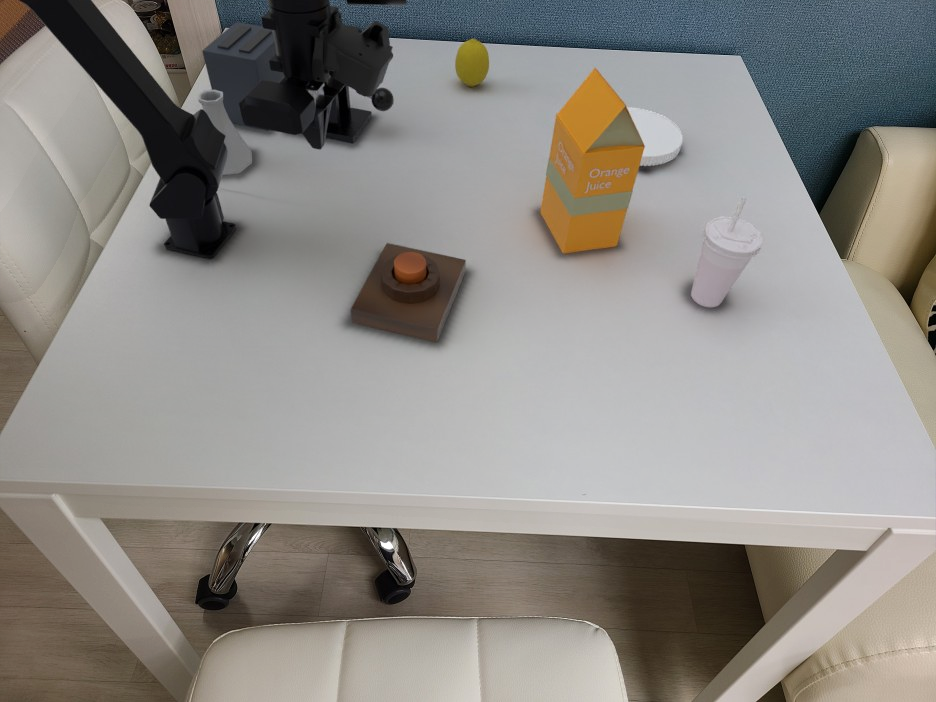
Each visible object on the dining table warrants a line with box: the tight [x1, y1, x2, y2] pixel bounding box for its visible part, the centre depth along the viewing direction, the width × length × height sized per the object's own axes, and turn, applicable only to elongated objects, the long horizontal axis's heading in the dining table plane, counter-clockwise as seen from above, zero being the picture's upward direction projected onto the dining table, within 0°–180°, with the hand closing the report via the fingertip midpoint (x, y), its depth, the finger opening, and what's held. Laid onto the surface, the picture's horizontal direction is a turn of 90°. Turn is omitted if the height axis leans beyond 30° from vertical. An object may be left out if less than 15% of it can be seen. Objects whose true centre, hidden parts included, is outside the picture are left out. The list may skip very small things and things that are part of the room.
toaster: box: [201, 21, 284, 132], centre depth 100 cm, size 10×8×11 cm
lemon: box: [454, 38, 490, 88], centre depth 110 cm, size 6×6×8 cm
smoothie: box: [690, 196, 764, 308], centre depth 76 cm, size 6×6×14 cm
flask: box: [197, 89, 253, 176], centre depth 91 cm, size 7×7×10 cm
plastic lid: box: [626, 106, 684, 167], centre depth 102 cm, size 14×14×2 cm
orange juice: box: [539, 67, 645, 254], centre depth 81 cm, size 8×9×20 cm
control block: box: [350, 242, 467, 343], centre depth 77 cm, size 12×10×4 cm
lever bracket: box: [325, 85, 373, 144], centre depth 98 cm, size 10×8×11 cm
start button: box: [394, 252, 426, 285], centre depth 75 cm, size 4×4×2 cm
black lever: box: [368, 87, 395, 112], centre depth 96 cm, size 12×3×3 cm, turn 75°
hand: (318, 147), depth 75 cm, fingers closed
